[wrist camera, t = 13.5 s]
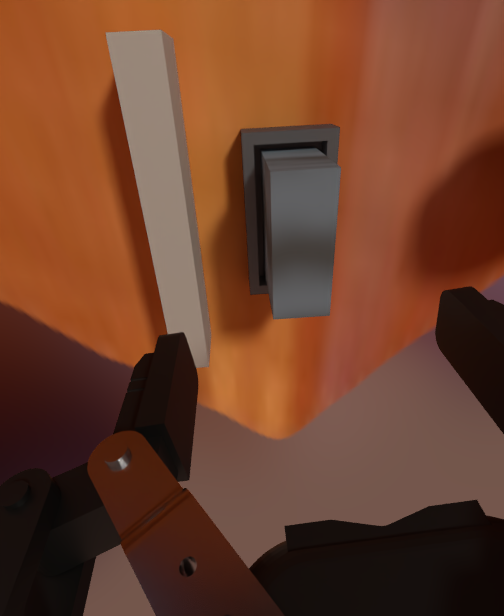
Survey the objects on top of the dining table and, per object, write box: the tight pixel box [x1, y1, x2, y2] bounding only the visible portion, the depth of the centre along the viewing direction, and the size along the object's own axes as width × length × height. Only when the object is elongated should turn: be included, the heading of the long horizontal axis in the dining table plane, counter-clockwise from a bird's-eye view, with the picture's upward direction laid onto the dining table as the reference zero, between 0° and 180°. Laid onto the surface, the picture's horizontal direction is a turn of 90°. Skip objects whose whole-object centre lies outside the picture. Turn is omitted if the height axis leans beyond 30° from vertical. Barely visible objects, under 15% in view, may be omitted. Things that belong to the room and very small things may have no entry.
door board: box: [106, 30, 211, 368], centre depth 28 cm, size 24×3×5 cm, turn 3°
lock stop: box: [260, 146, 341, 319], centre depth 27 cm, size 10×4×8 cm, turn 3°
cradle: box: [241, 124, 340, 295], centre depth 30 cm, size 13×7×2 cm, turn 3°
